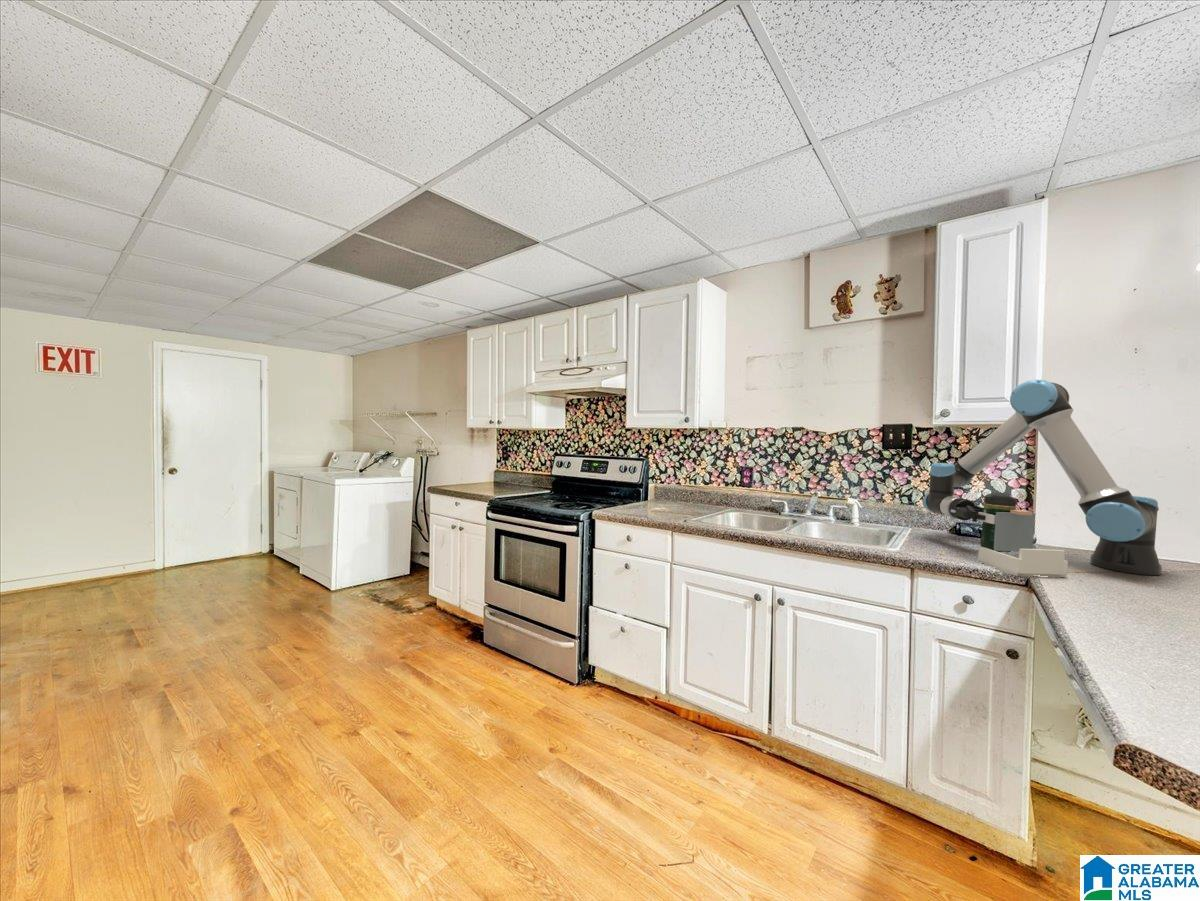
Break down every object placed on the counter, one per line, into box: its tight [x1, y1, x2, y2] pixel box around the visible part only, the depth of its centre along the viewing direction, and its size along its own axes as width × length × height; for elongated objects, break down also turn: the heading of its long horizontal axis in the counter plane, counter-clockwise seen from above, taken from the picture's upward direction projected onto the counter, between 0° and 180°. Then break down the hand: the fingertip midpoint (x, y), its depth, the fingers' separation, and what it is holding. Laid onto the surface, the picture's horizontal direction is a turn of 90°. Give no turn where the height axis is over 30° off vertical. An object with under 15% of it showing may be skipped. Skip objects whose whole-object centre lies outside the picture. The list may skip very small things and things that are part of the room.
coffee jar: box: [980, 492, 1017, 554], centre depth 153 cm, size 10×8×19 cm
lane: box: [977, 546, 1069, 579], centre depth 145 cm, size 14×15×8 cm
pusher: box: [994, 509, 1036, 553], centre depth 146 cm, size 11×4×13 cm, turn 88°
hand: (1010, 520), depth 148 cm, fingers closed on coffee jar, 8 cm apart
